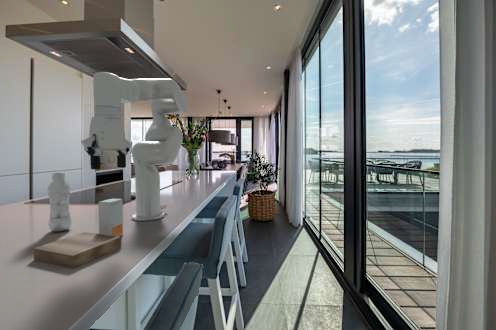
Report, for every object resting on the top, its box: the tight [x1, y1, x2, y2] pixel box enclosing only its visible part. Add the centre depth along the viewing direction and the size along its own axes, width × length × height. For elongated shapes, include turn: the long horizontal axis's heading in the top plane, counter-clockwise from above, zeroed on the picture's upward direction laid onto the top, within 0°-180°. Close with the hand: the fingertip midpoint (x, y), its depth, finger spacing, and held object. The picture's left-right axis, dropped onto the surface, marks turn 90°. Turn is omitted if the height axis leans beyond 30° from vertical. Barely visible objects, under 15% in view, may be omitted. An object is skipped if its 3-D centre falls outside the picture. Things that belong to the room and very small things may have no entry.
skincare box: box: [98, 198, 124, 237], centre depth 82 cm, size 6×4×12 cm
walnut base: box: [33, 231, 122, 269], centre depth 69 cm, size 14×14×3 cm
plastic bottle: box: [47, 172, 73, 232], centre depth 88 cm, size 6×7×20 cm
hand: (109, 168), depth 81 cm, fingers open, 9 cm apart
